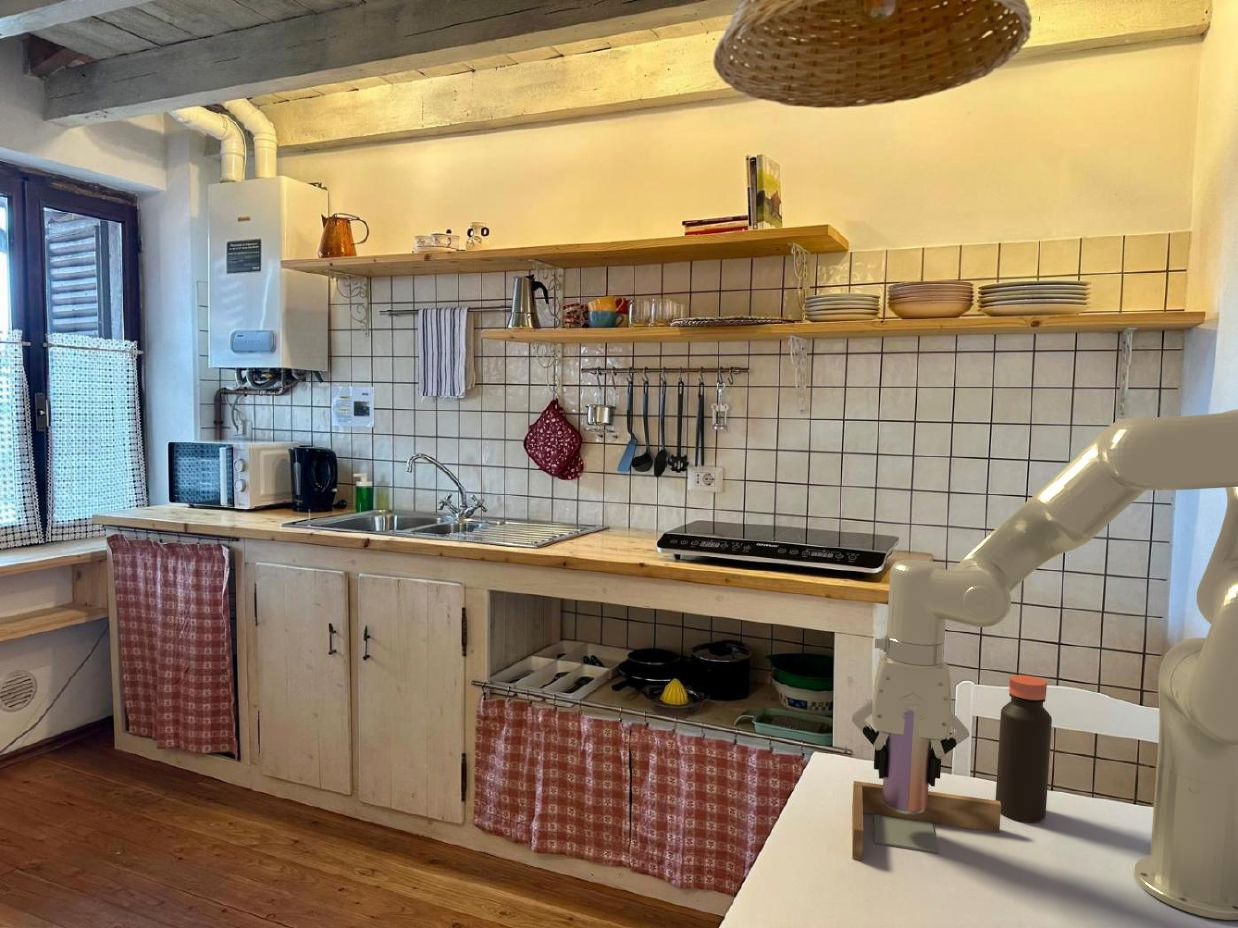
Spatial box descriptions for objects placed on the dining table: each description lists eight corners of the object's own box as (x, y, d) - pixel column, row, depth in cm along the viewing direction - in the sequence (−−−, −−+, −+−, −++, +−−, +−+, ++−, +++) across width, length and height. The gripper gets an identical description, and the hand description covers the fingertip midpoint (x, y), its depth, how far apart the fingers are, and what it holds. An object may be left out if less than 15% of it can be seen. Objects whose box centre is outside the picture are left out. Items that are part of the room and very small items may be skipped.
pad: (932, 825, 120) (932, 823, 120) (937, 853, 113) (937, 850, 113) (873, 816, 122) (873, 814, 122) (875, 843, 115) (875, 841, 115)
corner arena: (998, 828, 120) (999, 800, 120) (1018, 885, 105) (1020, 854, 105) (852, 806, 125) (853, 780, 125) (852, 858, 111) (853, 828, 110)
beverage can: (884, 812, 115) (890, 705, 114) (879, 793, 121) (886, 690, 120) (930, 818, 114) (937, 709, 113) (923, 798, 120) (930, 695, 119)
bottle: (1027, 827, 120) (1035, 690, 119) (985, 807, 126) (993, 676, 125) (1055, 817, 124) (1064, 683, 123) (1013, 798, 130) (1021, 670, 128)
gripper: (849, 651, 114) (841, 780, 116) (986, 666, 110) (976, 800, 111) (849, 637, 122) (842, 758, 123) (977, 650, 117) (969, 776, 118)
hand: (906, 777), depth 117 cm, fingers closed on beverage can, 5 cm apart
